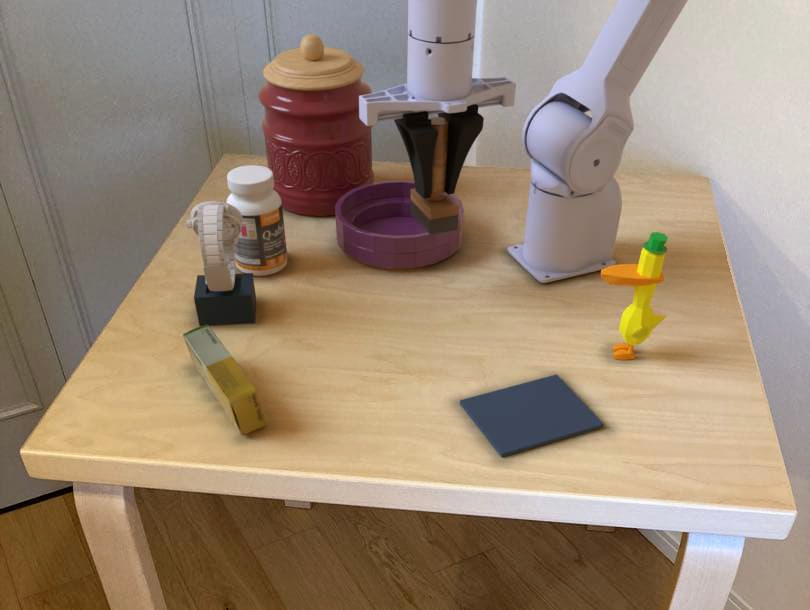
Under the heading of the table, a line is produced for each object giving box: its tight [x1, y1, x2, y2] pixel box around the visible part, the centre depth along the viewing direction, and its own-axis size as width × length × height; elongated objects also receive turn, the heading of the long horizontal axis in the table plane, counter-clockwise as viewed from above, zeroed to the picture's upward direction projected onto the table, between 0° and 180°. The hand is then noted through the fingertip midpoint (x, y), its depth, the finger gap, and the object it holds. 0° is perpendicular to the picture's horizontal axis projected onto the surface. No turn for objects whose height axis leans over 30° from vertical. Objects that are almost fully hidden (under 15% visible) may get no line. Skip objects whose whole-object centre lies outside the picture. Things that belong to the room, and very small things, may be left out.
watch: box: [186, 200, 257, 327], centre depth 81 cm, size 6×8×11 cm
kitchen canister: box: [257, 33, 375, 217], centre depth 98 cm, size 13×13×18 cm
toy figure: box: [600, 231, 669, 361], centre depth 76 cm, size 7×4×12 cm, turn 87°
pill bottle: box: [225, 164, 288, 277], centre depth 88 cm, size 6×6×10 cm
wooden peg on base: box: [410, 116, 459, 235], centre depth 80 cm, size 3×5×10 cm, turn 23°
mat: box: [459, 373, 605, 458], centre depth 74 cm, size 10×8×1 cm
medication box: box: [182, 324, 268, 436], centre depth 74 cm, size 12×3×4 cm, turn 30°
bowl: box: [334, 179, 465, 270], centre depth 94 cm, size 14×14×4 cm
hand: (434, 192), depth 81 cm, fingers closed on wooden peg on base, 2 cm apart
